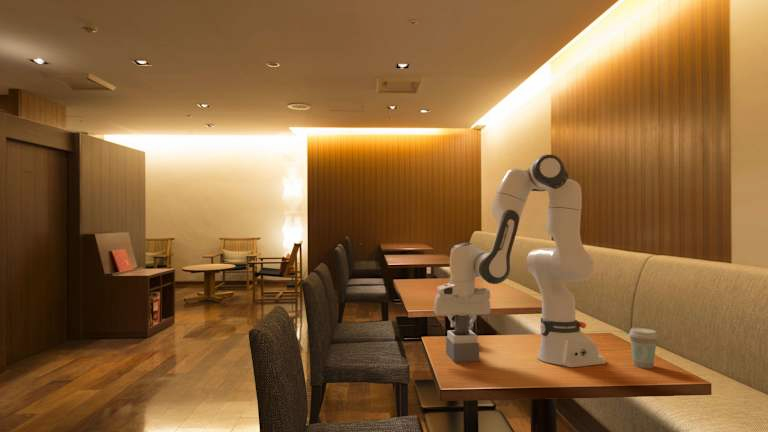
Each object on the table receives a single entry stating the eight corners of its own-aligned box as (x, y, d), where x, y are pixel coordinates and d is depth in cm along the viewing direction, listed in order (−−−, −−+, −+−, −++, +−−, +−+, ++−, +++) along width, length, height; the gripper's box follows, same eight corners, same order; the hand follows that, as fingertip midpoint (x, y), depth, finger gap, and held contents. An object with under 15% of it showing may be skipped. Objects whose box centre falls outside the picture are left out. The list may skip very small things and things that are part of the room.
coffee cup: (623, 362, 162) (623, 327, 162) (647, 361, 163) (647, 327, 163) (639, 370, 154) (639, 333, 154) (663, 369, 155) (663, 333, 155)
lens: (466, 332, 171) (466, 311, 171) (470, 335, 166) (470, 313, 166) (453, 332, 171) (453, 311, 171) (457, 336, 166) (457, 314, 166)
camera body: (469, 352, 174) (469, 329, 174) (479, 361, 163) (479, 336, 163) (446, 352, 173) (446, 329, 173) (453, 361, 162) (453, 337, 162)
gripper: (487, 286, 173) (487, 324, 173) (432, 287, 171) (432, 325, 170) (493, 289, 167) (493, 328, 166) (436, 289, 164) (436, 329, 164)
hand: (461, 326), depth 168 cm, fingers closed on lens, 5 cm apart
